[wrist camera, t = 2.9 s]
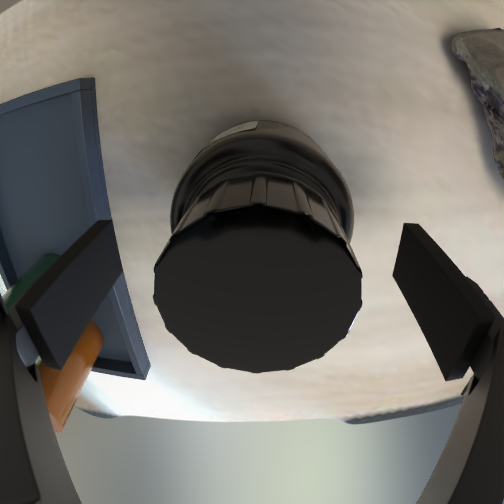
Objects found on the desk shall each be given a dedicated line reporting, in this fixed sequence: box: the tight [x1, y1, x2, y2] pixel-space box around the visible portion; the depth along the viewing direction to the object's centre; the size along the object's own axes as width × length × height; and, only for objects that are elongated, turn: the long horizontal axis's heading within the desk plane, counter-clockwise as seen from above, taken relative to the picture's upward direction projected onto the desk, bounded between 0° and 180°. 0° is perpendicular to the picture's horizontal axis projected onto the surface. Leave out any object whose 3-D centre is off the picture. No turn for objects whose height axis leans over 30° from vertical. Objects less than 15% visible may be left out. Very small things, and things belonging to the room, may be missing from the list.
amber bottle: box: [38, 321, 104, 432], centre depth 22 cm, size 6×6×14 cm
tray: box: [0, 78, 150, 380], centre depth 23 cm, size 27×14×2 cm, turn 0°
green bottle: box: [2, 253, 60, 367], centre depth 19 cm, size 6×6×14 cm
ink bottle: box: [153, 121, 362, 373], centre depth 15 cm, size 10×9×12 cm
